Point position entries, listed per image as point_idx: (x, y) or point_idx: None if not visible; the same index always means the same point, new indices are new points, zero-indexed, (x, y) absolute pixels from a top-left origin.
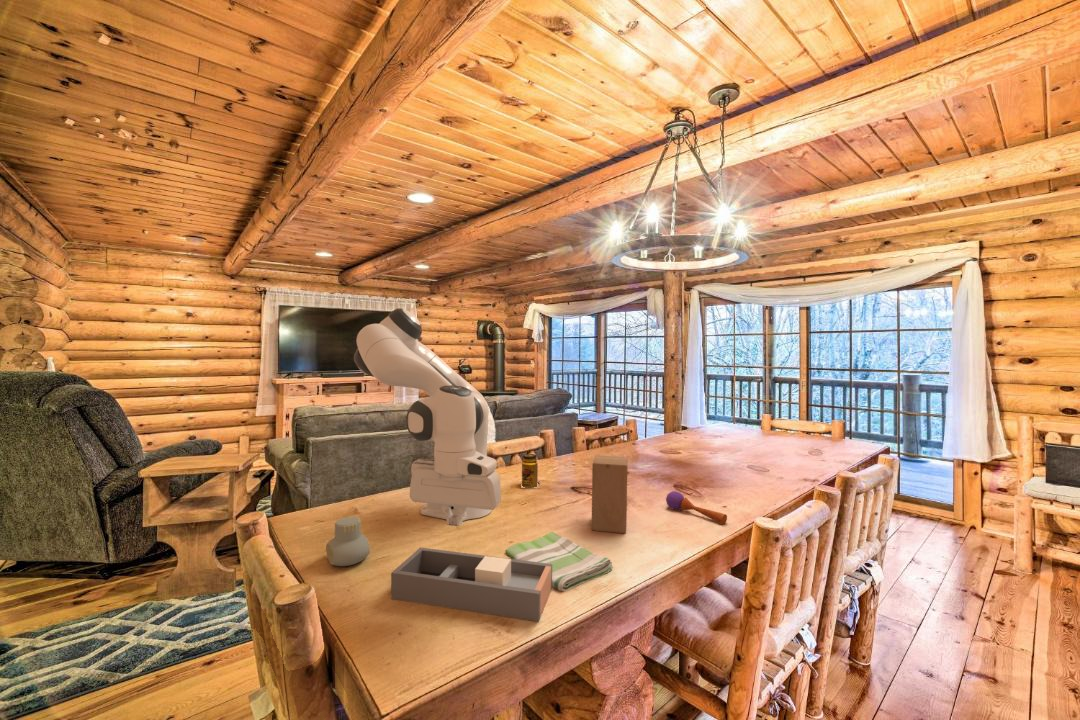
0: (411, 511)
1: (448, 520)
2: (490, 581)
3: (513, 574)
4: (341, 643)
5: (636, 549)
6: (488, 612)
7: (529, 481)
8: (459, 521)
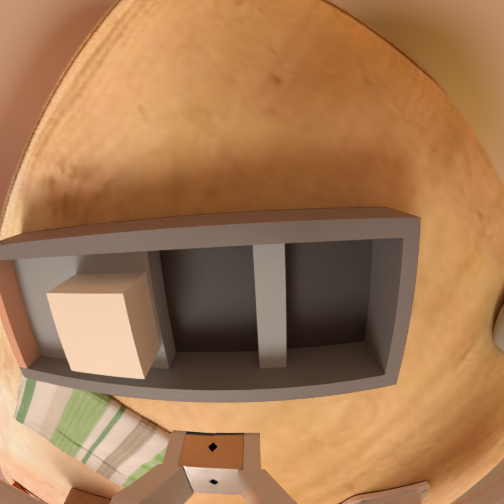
0: (442, 477)
1: (244, 453)
2: (92, 282)
3: None
4: (375, 31)
5: (36, 453)
6: (104, 223)
7: None
8: (168, 453)
